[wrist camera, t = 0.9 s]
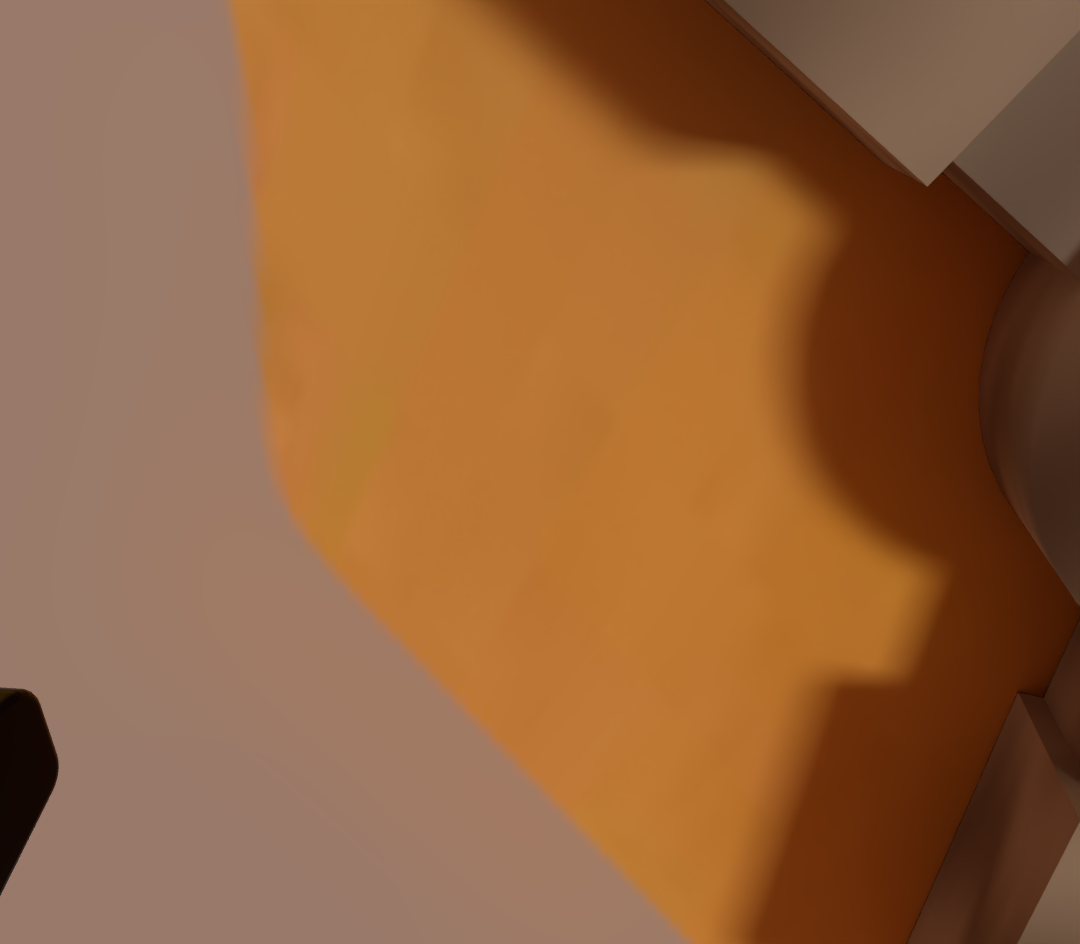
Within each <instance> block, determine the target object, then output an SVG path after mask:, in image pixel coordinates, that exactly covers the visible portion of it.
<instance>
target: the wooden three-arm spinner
mask: <svg viewBox="0 0 1080 944" xmlns="http://www.w3.org/2000/svg"><path fill="white" fill-rule="evenodd" d="M705 1H706V2H707V3H709V4H710V5H711V6H712V7H713V8H714V9H715V10H716V11H717V12H718V13H719V14H721V15H722V16H723V17H724V18H725V19H726V20H727V21H728V22H729V23H730V24H732V25H733V26H734V27H735V28H736V29H737V30H738V31H739V32H740V33H741V34H742V35H744V36H745V37H746V38H747V39H748V40H749V41H750V42H751V43H752V44H753V45H755V46H756V47H757V48H758V49H759V50H760V51H761V52H762V53H763V54H764V55H765V56H767V57H768V58H769V59H770V60H771V61H772V62H773V63H774V64H775V65H776V66H778V67H779V68H780V69H781V70H782V71H783V72H784V73H785V74H786V75H787V76H788V77H790V78H791V79H792V80H793V81H794V82H795V83H796V84H797V85H798V86H799V87H801V88H802V89H803V90H804V91H805V92H806V93H807V94H808V95H809V96H810V97H811V98H813V99H814V100H815V101H816V102H817V103H818V104H819V105H820V106H821V107H822V108H824V109H825V110H826V111H827V112H828V113H829V114H830V115H831V116H832V117H833V118H834V119H836V120H837V121H838V122H839V123H840V124H841V125H842V126H843V127H844V128H845V129H847V130H848V131H849V132H850V133H851V134H852V135H853V136H854V137H855V138H856V139H857V140H859V141H860V142H861V143H862V144H863V145H864V146H865V147H866V148H867V149H868V150H869V151H871V152H872V153H873V154H874V155H875V156H876V157H877V158H878V159H879V160H880V161H882V162H883V163H884V164H885V165H887V166H889V167H891V168H893V169H895V170H897V171H899V172H900V173H902V174H904V175H906V176H908V177H910V178H912V179H914V180H916V181H918V182H920V183H921V184H923V185H925V186H927V187H928V186H929V185H930V184H931V183H932V182H933V181H934V180H935V178H936V177H937V176H938V175H939V174H940V173H941V172H943V173H944V174H945V175H946V176H947V177H948V178H949V179H950V180H951V181H952V182H954V183H955V184H956V185H957V186H958V187H959V188H960V189H961V190H962V191H963V192H964V193H965V194H967V195H968V196H969V197H970V198H971V199H972V200H973V201H974V202H975V203H976V204H977V205H978V206H980V207H981V208H982V209H983V210H984V211H985V212H986V213H987V214H988V215H989V216H990V217H992V218H993V219H994V220H995V221H996V222H997V223H998V224H999V225H1000V226H1001V227H1002V228H1003V229H1005V230H1006V231H1007V232H1008V233H1009V234H1010V235H1011V236H1012V237H1013V238H1014V239H1015V240H1016V241H1018V242H1019V243H1020V244H1021V245H1022V246H1023V247H1024V248H1025V249H1026V250H1027V251H1028V252H1029V253H1028V254H1027V256H1026V258H1025V259H1024V261H1023V262H1022V264H1021V265H1020V267H1019V269H1018V270H1017V272H1016V273H1015V275H1014V277H1013V278H1012V280H1011V282H1010V284H1009V286H1008V288H1007V290H1006V292H1005V294H1004V297H1003V299H1002V301H1001V303H1000V305H999V307H998V309H997V311H996V314H995V317H994V320H993V323H992V326H991V329H990V333H989V336H988V339H987V342H986V345H985V350H984V356H983V362H982V367H981V373H980V383H979V415H980V424H981V432H982V439H983V443H984V446H985V450H986V453H987V457H988V461H989V464H990V467H991V469H992V472H993V474H994V476H995V478H996V480H997V482H998V485H999V487H1000V489H1001V491H1002V493H1003V495H1004V496H1005V498H1006V499H1007V501H1008V502H1009V504H1010V505H1011V507H1012V508H1013V510H1014V511H1015V513H1016V514H1017V516H1018V517H1019V519H1020V520H1021V522H1022V523H1023V525H1024V526H1025V528H1026V529H1027V530H1028V532H1029V533H1030V535H1031V536H1032V538H1033V539H1034V541H1035V542H1036V544H1037V545H1038V547H1039V548H1040V550H1041V551H1042V553H1043V554H1044V556H1045V557H1046V559H1047V560H1048V561H1049V563H1050V564H1051V566H1052V567H1053V569H1054V570H1055V572H1056V573H1057V575H1058V576H1059V578H1060V579H1061V581H1062V582H1063V584H1064V585H1065V587H1066V588H1067V590H1068V591H1069V593H1070V594H1071V595H1072V597H1073V598H1074V600H1075V601H1076V603H1077V604H1078V605H1079V606H1080V0H705ZM907 944H1080V619H1079V621H1078V624H1077V626H1076V628H1075V630H1074V632H1073V635H1072V637H1071V639H1070V641H1069V643H1068V646H1067V648H1066V650H1065V652H1064V654H1063V656H1062V659H1061V661H1060V663H1059V665H1058V667H1057V670H1056V672H1055V674H1054V676H1053V678H1052V681H1051V683H1050V685H1049V687H1048V689H1047V691H1046V694H1045V696H1044V698H1041V697H1037V696H1032V695H1028V694H1023V693H1019V692H1018V694H1017V696H1016V698H1015V701H1014V703H1013V705H1012V707H1011V710H1010V712H1009V714H1008V716H1007V719H1006V721H1005V723H1004V725H1003V728H1002V730H1001V732H1000V735H999V737H998V739H997V741H996V744H995V746H994V748H993V750H992V753H991V755H990V757H989V759H988V762H987V764H986V766H985V768H984V771H983V773H982V775H981V778H980V780H979V782H978V784H977V787H976V789H975V791H974V793H973V796H972V798H971V800H970V802H969V805H968V807H967V809H966V811H965V814H964V816H963V818H962V821H961V823H960V825H959V827H958V830H957V832H956V834H955V836H954V839H953V841H952V843H951V845H950V848H949V850H948V852H947V855H946V857H945V859H944V861H943V864H942V866H941V868H940V870H939V873H938V875H937V877H936V879H935V882H934V884H933V886H932V888H931V891H930V893H929V895H928V898H927V900H926V902H925V904H924V907H923V909H922V911H921V913H920V916H919V918H918V920H917V922H916V925H915V927H914V929H913V931H912V934H911V936H910V938H909V941H908V943H907Z"/></svg>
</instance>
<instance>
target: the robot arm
mask: <svg viewBox="0 0 1080 944" xmlns="http://www.w3.org/2000/svg"><path fill="white" fill-rule="evenodd" d="M58 766H59V765H58V757H57V753H56V750H55V747H54V744H53V741H52V738H51V735H50V732H49V729H48V726H47V723H46V720H45V717H44V714H43V711H42V708H41V705H40V703H39V701H38V699H37V697H36V696H35V695H34V694H33V693H32V692H30V691H27V690H25V689H16V688H14V689H13V688H0V895H1V893H2V891H3V889H4V887H5V885H6V883H7V881H8V879H9V877H10V875H11V873H12V871H13V869H14V867H15V865H16V863H17V861H18V859H19V857H20V855H21V853H22V851H23V849H24V847H25V845H26V843H27V841H28V839H29V837H30V835H31V833H32V831H33V829H34V827H35V825H36V823H37V821H38V819H39V817H40V815H41V813H42V811H43V809H44V807H45V805H46V803H47V801H48V799H49V797H50V795H51V793H52V791H53V789H54V786H55V783H56V780H57V776H58V769H59V767H58Z"/></svg>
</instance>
